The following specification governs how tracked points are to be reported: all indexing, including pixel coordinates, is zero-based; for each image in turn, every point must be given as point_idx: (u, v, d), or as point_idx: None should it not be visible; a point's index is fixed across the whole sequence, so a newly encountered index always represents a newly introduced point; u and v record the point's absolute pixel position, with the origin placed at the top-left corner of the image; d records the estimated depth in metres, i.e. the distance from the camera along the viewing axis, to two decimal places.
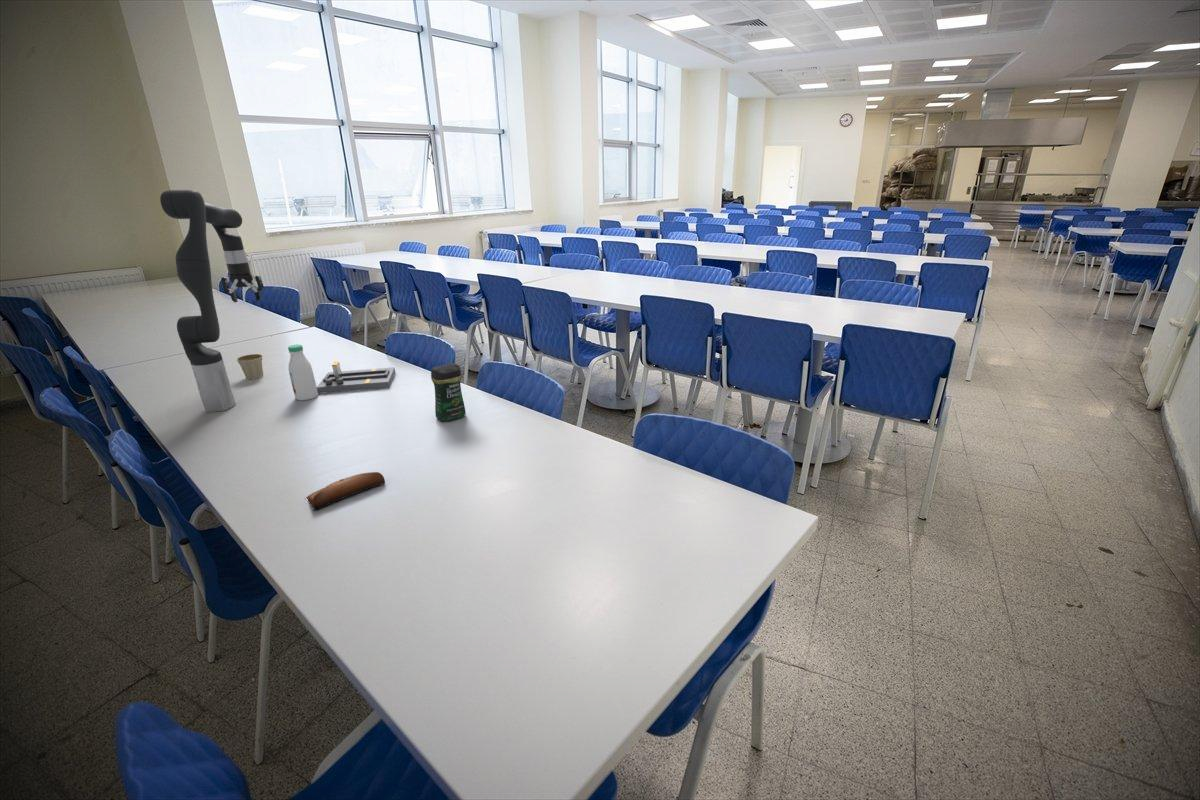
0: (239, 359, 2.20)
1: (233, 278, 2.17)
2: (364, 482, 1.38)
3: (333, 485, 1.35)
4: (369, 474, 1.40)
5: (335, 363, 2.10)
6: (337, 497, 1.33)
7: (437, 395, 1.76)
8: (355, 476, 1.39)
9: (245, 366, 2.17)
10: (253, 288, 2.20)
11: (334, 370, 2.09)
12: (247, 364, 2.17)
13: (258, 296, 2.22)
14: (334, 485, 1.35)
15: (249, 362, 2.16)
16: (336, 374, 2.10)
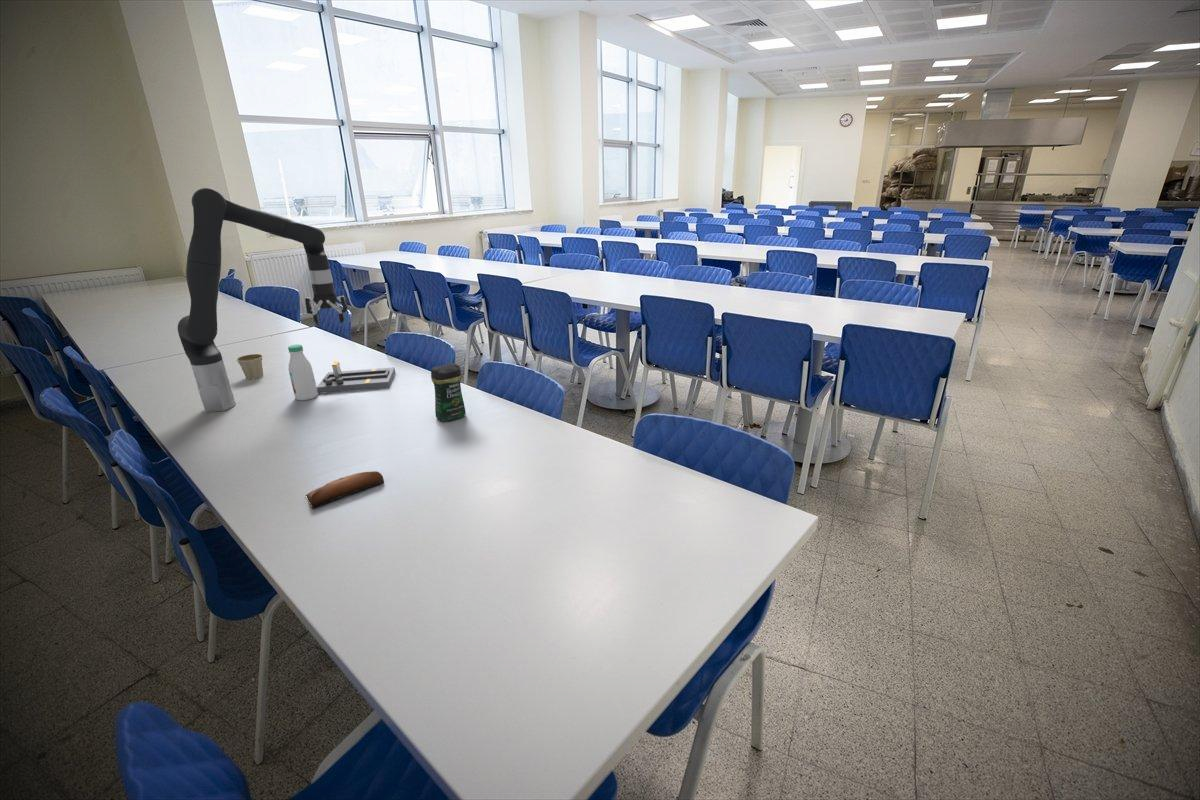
0: (239, 359, 2.20)
1: (317, 299, 2.04)
2: (363, 481, 1.38)
3: (332, 484, 1.35)
4: (368, 473, 1.40)
5: (335, 363, 2.10)
6: (335, 496, 1.34)
7: (437, 395, 1.76)
8: (354, 475, 1.39)
9: (245, 366, 2.17)
10: (337, 309, 2.07)
11: (334, 370, 2.09)
12: (247, 364, 2.17)
13: (342, 318, 2.09)
14: (333, 484, 1.36)
15: (249, 362, 2.16)
16: (336, 374, 2.10)
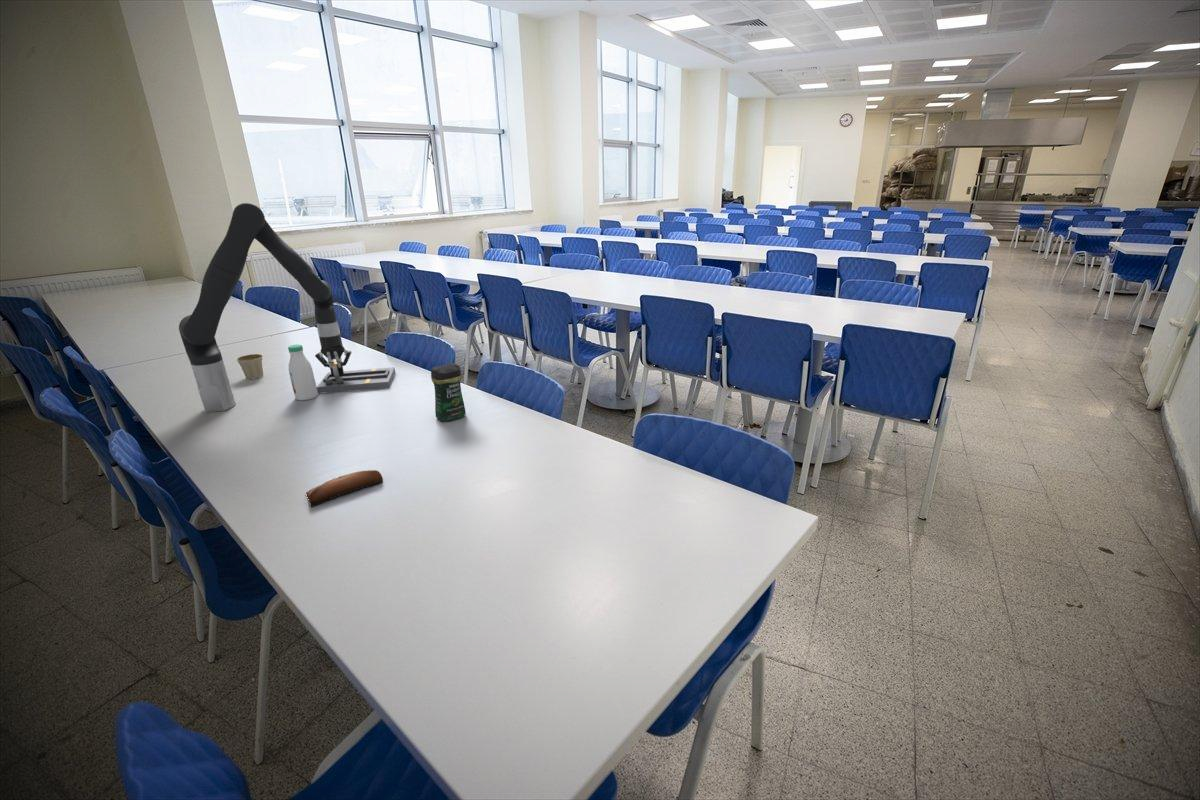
0: (239, 359, 2.20)
1: (324, 350, 2.06)
2: (362, 480, 1.39)
3: (331, 482, 1.36)
4: (367, 472, 1.41)
5: (335, 363, 2.10)
6: (334, 494, 1.35)
7: (437, 395, 1.76)
8: (353, 474, 1.40)
9: (245, 366, 2.17)
10: (338, 363, 2.09)
11: (334, 370, 2.09)
12: (247, 364, 2.17)
13: (341, 371, 2.11)
14: (332, 482, 1.36)
15: (249, 362, 2.16)
16: (336, 374, 2.10)
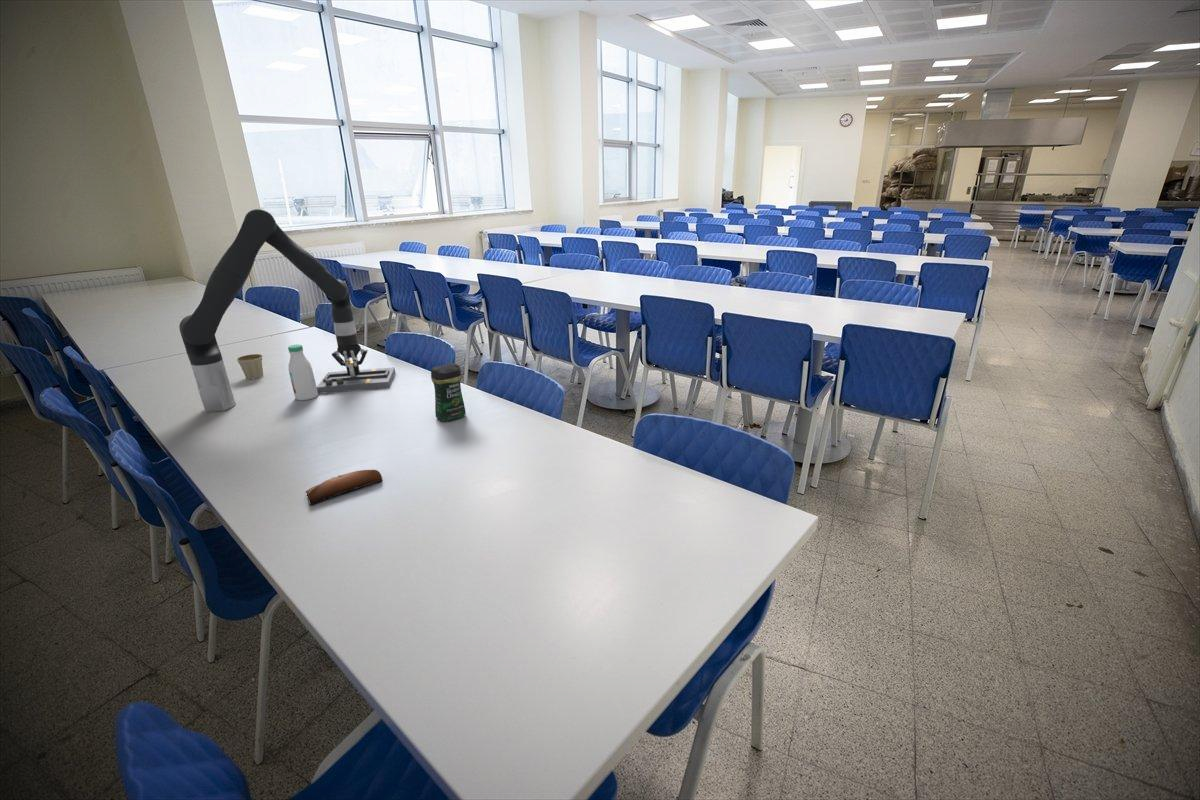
0: (239, 359, 2.20)
1: (341, 349, 2.08)
2: (361, 479, 1.39)
3: (330, 481, 1.37)
4: (367, 471, 1.41)
5: (351, 362, 2.11)
6: (333, 493, 1.35)
7: (437, 395, 1.76)
8: (353, 473, 1.40)
9: (245, 366, 2.17)
10: (355, 361, 2.10)
11: (350, 369, 2.10)
12: (247, 364, 2.17)
13: (357, 370, 2.12)
14: (331, 481, 1.37)
15: (249, 362, 2.16)
16: (352, 373, 2.11)
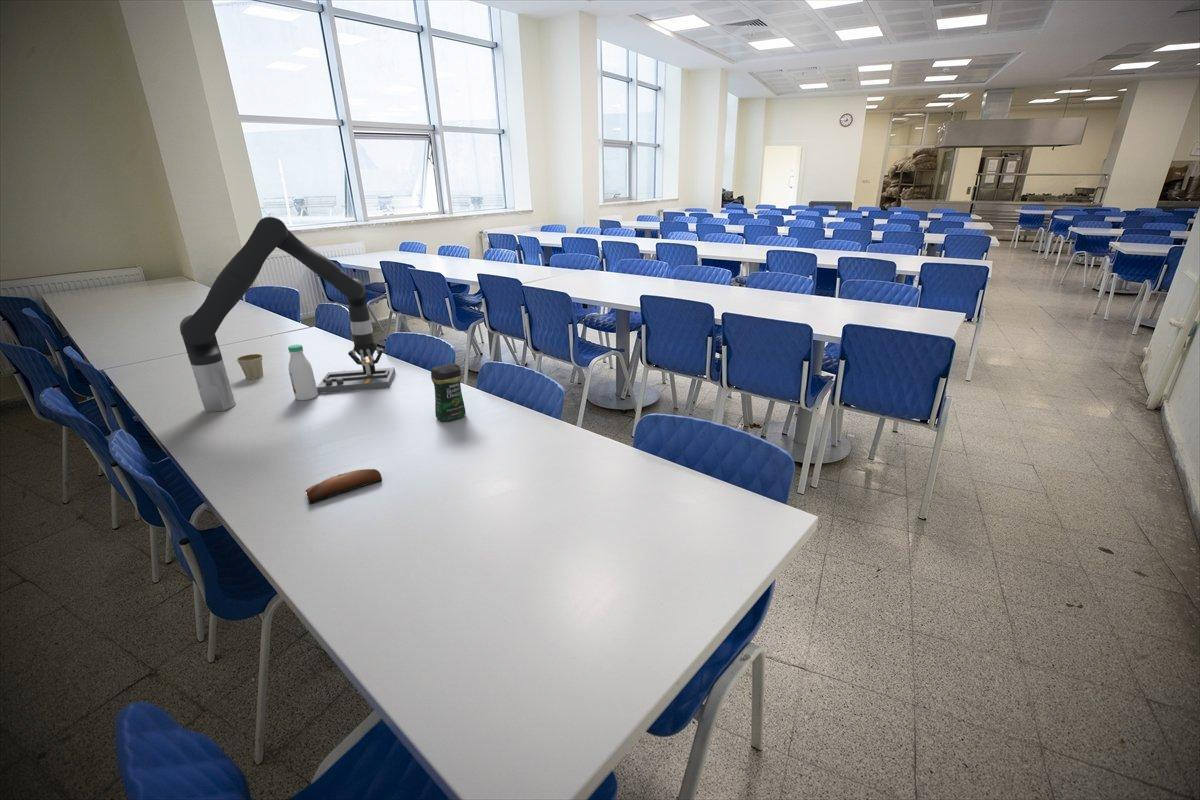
0: (239, 359, 2.20)
1: (357, 347, 2.09)
2: (360, 478, 1.40)
3: (330, 480, 1.37)
4: (366, 471, 1.41)
5: (367, 361, 2.12)
6: (332, 492, 1.36)
7: (437, 395, 1.76)
8: (353, 472, 1.41)
9: (245, 366, 2.17)
10: (371, 360, 2.12)
11: (366, 368, 2.11)
12: (247, 364, 2.17)
13: (373, 369, 2.13)
14: (331, 480, 1.37)
15: (249, 362, 2.16)
16: (368, 372, 2.12)
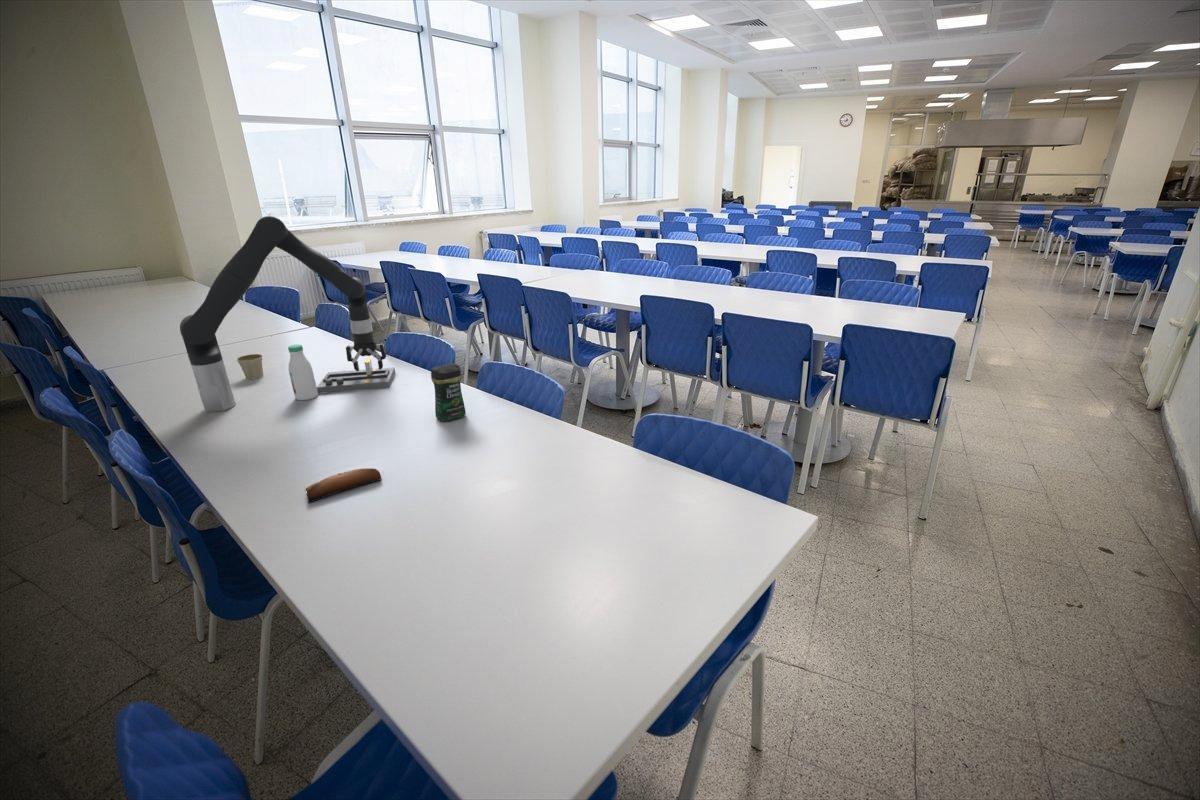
0: (239, 359, 2.20)
1: (357, 347, 2.09)
2: (360, 477, 1.40)
3: (329, 479, 1.38)
4: (366, 470, 1.42)
5: (367, 361, 2.12)
6: (331, 491, 1.36)
7: (437, 395, 1.76)
8: (352, 471, 1.41)
9: (245, 366, 2.17)
10: (377, 357, 2.12)
11: (366, 368, 2.11)
12: (247, 364, 2.17)
13: (381, 364, 2.13)
14: (330, 479, 1.38)
15: (249, 362, 2.16)
16: (368, 372, 2.12)
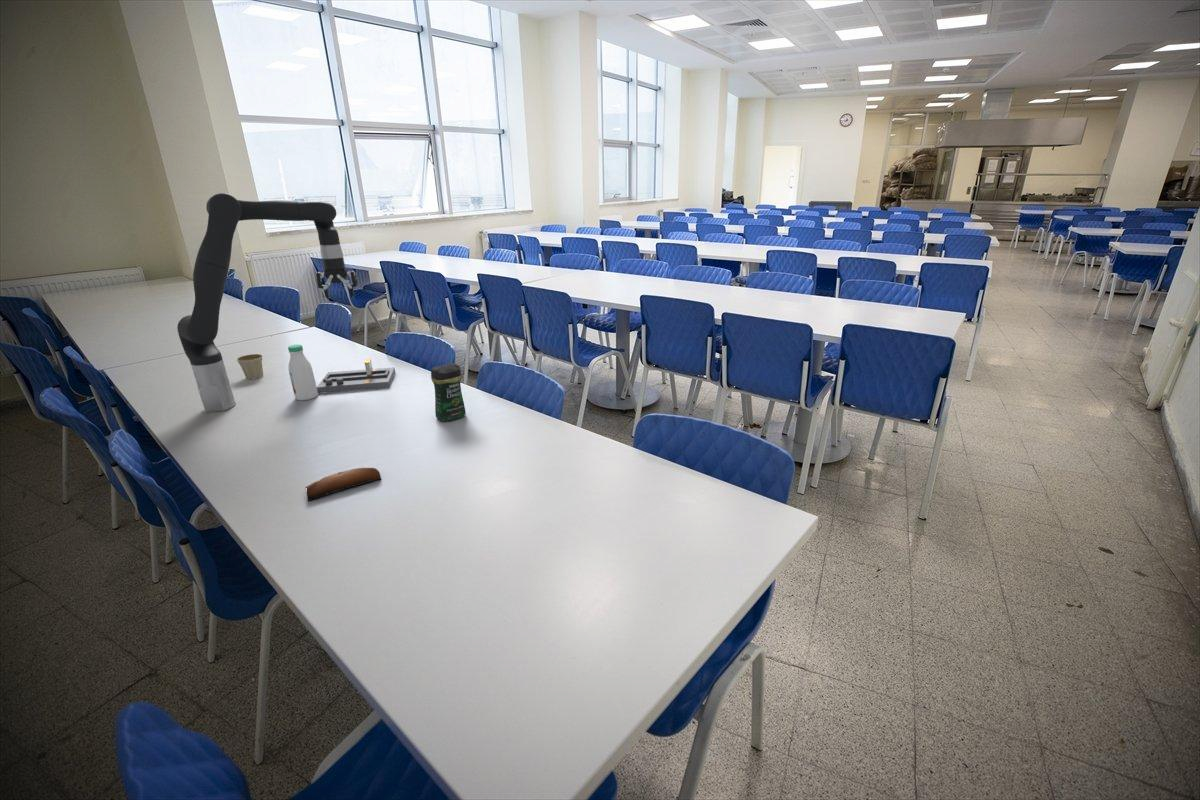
0: (239, 359, 2.20)
1: (328, 274, 2.08)
2: (359, 476, 1.40)
3: (329, 478, 1.38)
4: (365, 469, 1.42)
5: (367, 361, 2.12)
6: (331, 490, 1.37)
7: (437, 395, 1.76)
8: (352, 470, 1.42)
9: (245, 366, 2.17)
10: (347, 284, 2.11)
11: (366, 368, 2.11)
12: (247, 364, 2.17)
13: (352, 292, 2.13)
14: (330, 477, 1.38)
15: (249, 362, 2.16)
16: (368, 372, 2.12)
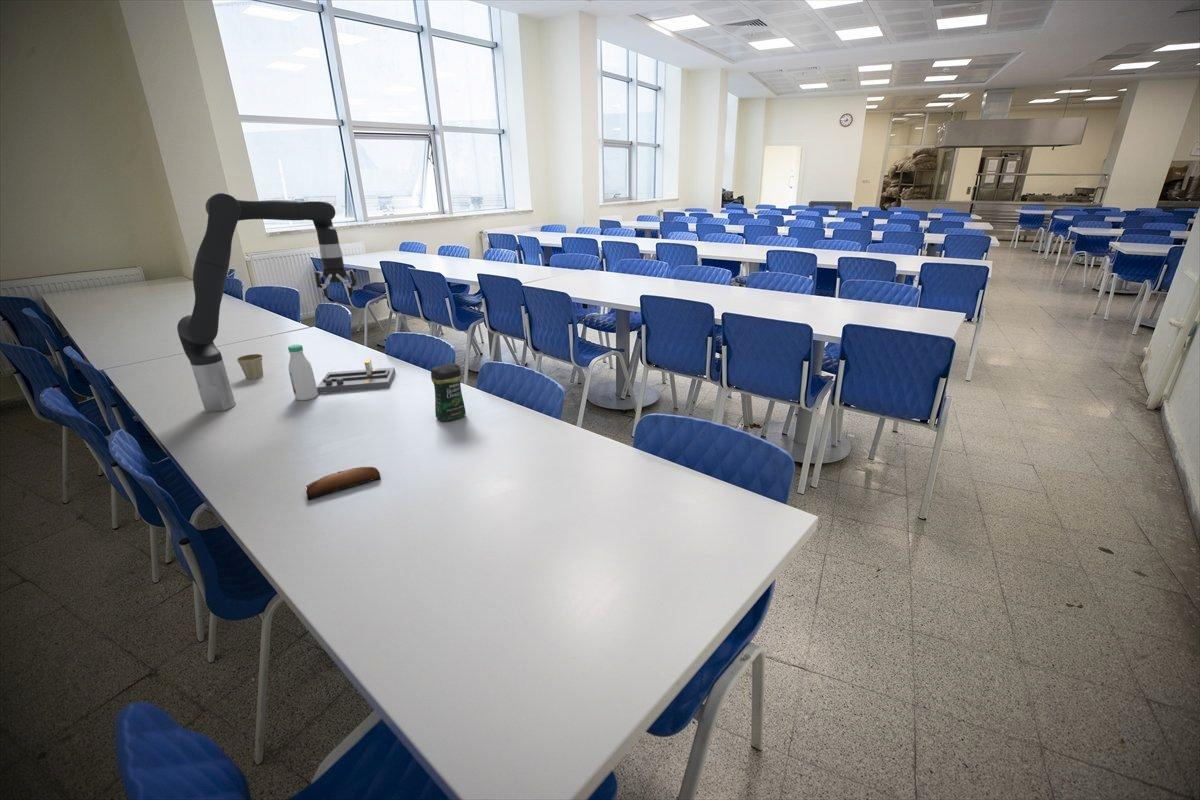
0: (239, 359, 2.20)
1: (327, 273, 2.09)
2: (359, 476, 1.41)
3: (329, 477, 1.39)
4: (365, 468, 1.42)
5: (367, 361, 2.12)
6: (330, 489, 1.37)
7: (437, 395, 1.76)
8: (352, 469, 1.42)
9: (245, 366, 2.17)
10: (347, 283, 2.11)
11: (366, 368, 2.11)
12: (247, 364, 2.17)
13: (351, 292, 2.13)
14: (330, 477, 1.39)
15: (249, 362, 2.16)
16: (368, 372, 2.12)
